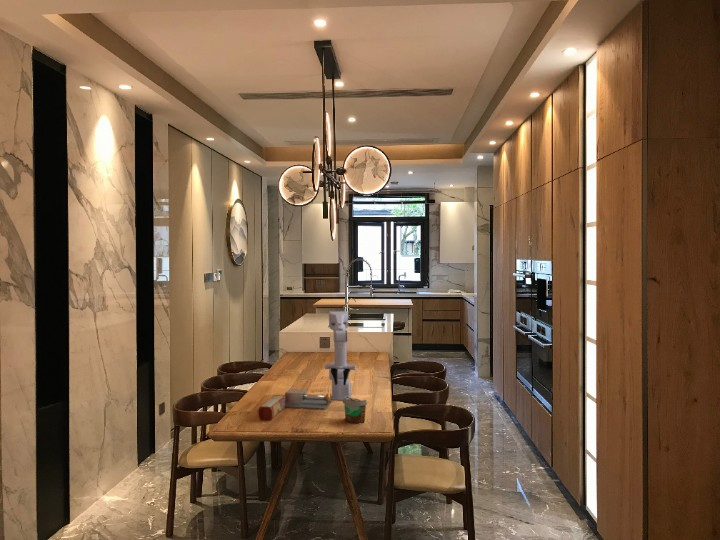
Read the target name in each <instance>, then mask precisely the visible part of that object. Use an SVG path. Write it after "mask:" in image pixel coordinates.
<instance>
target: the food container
mask: <svg viewBox="0 0 720 540" xmlns="http://www.w3.org/2000/svg"><path fill="white" fill-rule="evenodd" d="M342 403H343V405H344V415H345V422H346V423H348V424H351V425H352V424H353V425H354V424H355V425H359V423H361V424H365V423H364V422H366V420H365V419H366V409H367V408H366V406H367V405H368V402H367V399H363V400H360V399H359V398H354V397H353V398H352V397H350V398H349V397H348V395H347V396H345V397H344V399H343V400H342Z"/></svg>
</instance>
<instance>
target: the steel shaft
mask: <svg viewBox="0 0 720 540" xmlns="http://www.w3.org/2000/svg"><path fill="white" fill-rule="evenodd" d="M331 397H332V393H326V395H316V394H306V395H303V399H304V400H324V401H326V403H330V404H332V402H331V400H332V399H331Z"/></svg>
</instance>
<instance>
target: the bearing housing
mask: <svg viewBox="0 0 720 540" xmlns="http://www.w3.org/2000/svg"><path fill="white" fill-rule="evenodd" d="M303 395H307V389H306V388H305V389H304V388H289V389H288V390H286V391H285V392H284V399H285V404H289V405H302V404H303V403H304V402H305V401H306V400H304V399H303Z"/></svg>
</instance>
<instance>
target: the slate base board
mask: <svg viewBox="0 0 720 540" xmlns="http://www.w3.org/2000/svg"><path fill="white" fill-rule="evenodd" d="M332 401H333V400H332V399H331V403H332ZM331 403H326V401H324V400H306V401H305V402H304V403H303V404H302V405H289V404H285V408H284V409H299V408H303V409H304V410H305V409H306V410H318V409H321V410H322V411H323V410H326V409H327V408H328V407H329V405H331ZM327 406H328V407H327ZM326 407H327V408H326ZM303 409H302V410H303ZM321 410H320V411H321Z"/></svg>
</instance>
